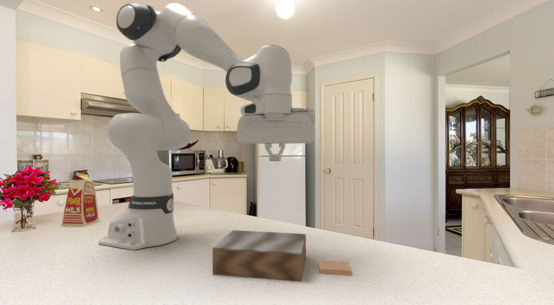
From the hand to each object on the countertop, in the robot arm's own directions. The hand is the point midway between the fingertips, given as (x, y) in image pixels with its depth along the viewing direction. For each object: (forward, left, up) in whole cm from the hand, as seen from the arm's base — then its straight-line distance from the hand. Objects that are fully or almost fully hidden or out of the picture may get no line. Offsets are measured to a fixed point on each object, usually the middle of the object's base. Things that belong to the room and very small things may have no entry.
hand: (275, 161), depth 74 cm
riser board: (-2, -6, -25) cm, 26 cm away
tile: (+15, -6, -24) cm, 29 cm away
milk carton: (-80, +21, -25) cm, 87 cm away
